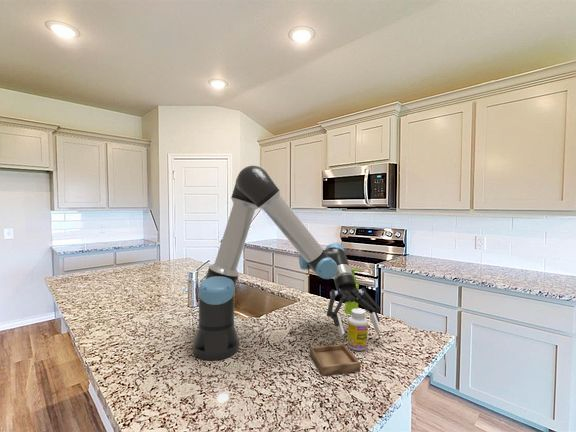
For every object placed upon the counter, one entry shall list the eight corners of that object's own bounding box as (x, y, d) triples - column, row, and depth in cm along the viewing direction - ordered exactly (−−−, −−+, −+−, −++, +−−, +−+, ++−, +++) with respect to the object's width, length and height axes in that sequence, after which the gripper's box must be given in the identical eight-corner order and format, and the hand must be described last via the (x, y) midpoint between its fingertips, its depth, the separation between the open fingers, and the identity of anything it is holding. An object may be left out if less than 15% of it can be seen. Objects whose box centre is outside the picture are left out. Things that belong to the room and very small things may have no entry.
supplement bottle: (356, 353, 99) (357, 315, 98) (343, 344, 105) (344, 309, 104) (371, 349, 102) (372, 312, 101) (358, 341, 108) (359, 306, 107)
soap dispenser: (360, 315, 133) (361, 271, 132) (344, 313, 134) (346, 270, 133) (360, 310, 139) (361, 268, 138) (345, 309, 140) (346, 267, 139)
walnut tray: (322, 375, 86) (322, 367, 86) (309, 354, 97) (309, 347, 97) (360, 371, 88) (360, 363, 88) (343, 351, 100) (343, 344, 100)
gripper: (369, 282, 121) (388, 334, 107) (310, 285, 115) (323, 340, 101) (376, 272, 115) (397, 326, 101) (315, 275, 109) (329, 332, 96)
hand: (360, 333), depth 101 cm, fingers open, 13 cm apart
